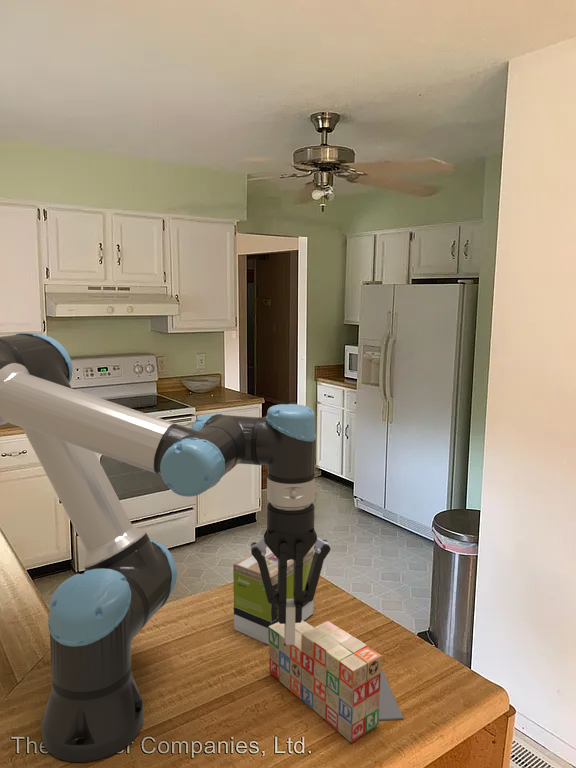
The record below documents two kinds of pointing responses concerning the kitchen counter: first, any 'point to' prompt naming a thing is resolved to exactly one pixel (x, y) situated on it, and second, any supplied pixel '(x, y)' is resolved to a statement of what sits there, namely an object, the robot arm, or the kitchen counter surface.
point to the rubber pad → (387, 702)
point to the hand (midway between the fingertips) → (289, 639)
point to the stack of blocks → (329, 674)
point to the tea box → (262, 594)
